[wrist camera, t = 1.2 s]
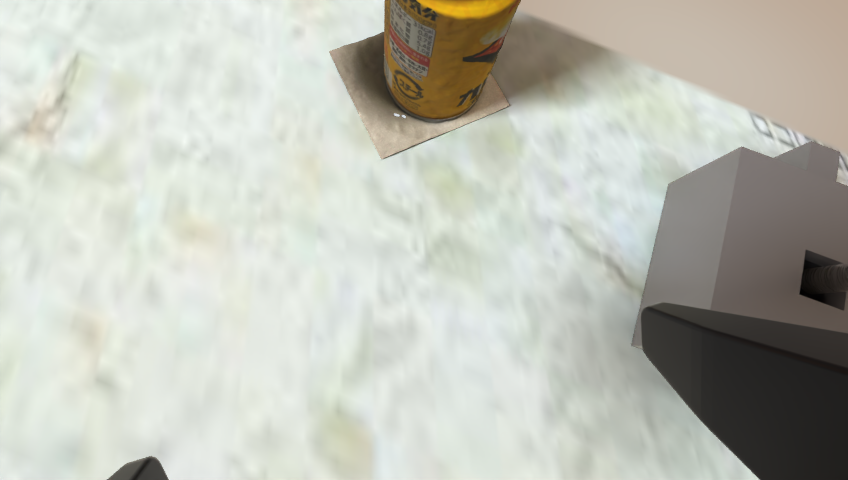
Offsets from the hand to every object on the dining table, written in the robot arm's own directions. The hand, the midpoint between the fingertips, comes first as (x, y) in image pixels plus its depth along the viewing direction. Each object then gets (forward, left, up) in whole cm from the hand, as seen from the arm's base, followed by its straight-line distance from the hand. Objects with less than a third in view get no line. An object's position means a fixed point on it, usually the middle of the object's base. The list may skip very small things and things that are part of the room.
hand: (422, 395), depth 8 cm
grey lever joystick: (+2, -20, -15) cm, 25 cm away
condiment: (+15, -4, -16) cm, 22 cm away
